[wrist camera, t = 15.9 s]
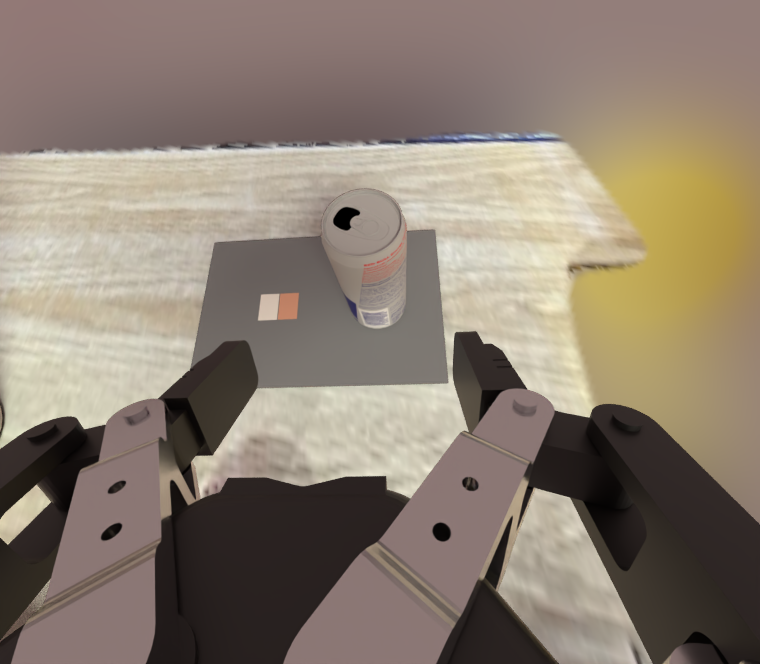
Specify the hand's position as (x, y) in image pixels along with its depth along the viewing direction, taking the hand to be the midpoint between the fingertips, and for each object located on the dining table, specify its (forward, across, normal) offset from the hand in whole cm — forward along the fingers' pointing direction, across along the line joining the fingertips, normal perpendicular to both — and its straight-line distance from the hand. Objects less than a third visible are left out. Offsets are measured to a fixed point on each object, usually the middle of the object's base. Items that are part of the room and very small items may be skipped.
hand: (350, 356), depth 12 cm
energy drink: (+17, 0, +5) cm, 18 cm away
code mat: (+18, +6, +4) cm, 19 cm away
